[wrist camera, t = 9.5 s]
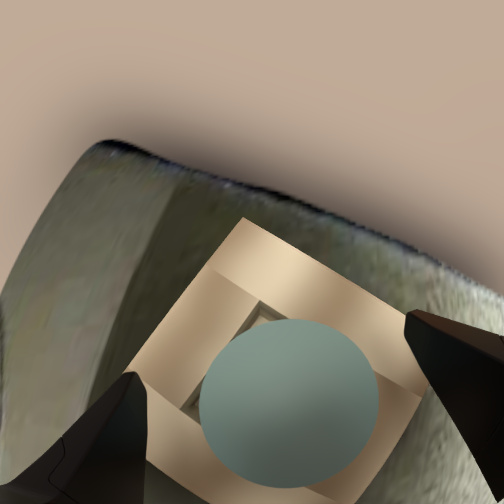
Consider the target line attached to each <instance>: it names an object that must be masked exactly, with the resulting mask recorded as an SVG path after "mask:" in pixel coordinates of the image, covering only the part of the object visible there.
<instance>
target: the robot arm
mask: <svg viewBox="0 0 504 504" xmlns="http://www.w3.org/2000/svg"><path fill="white" fill-rule="evenodd" d="M404 337H405V340H406V342H407V343H408V345H409V347H410V349H411V351H412V353H413V355H414V357H415V359H416V361H417V363H418V365H419V367H420V369H421V370H422V372H423V374H424V375H425V377H426V378H427V380H428V382H429V383H430V385H431V386H432V388H433V389H434V391H435V392H436V394H437V396H438V397H439V399H440V400H441V402H442V404H443V405H444V407H445V409H446V410H447V412H448V413H449V415H450V417H451V418H452V420H453V422H454V423H455V425H456V427H457V429H458V430H459V432H460V434H461V435H462V437H463V439H464V441H465V442H466V444H467V446H468V448H469V450H470V451H471V453H472V455H473V457H474V458H475V461H476V463H477V464H478V466H479V468H480V470H481V472H482V474H483V476H484V478H485V480H486V482H487V484H488V486H489V487H490V489H491V491H492V494H493V496H494V498H495V500H496V501H497V503H498V502H500V501H501V500H502V499H503V498H504V336H501V335H500V336H499V335H498V334H495V333H492V332H488V331H485V330H482V329H479V328H476V327H472V326H469V325H466V324H463V323H460V322H456V321H453V320H450V319H447V318H444V317H440V316H437V315H434V314H431V313H428V312H425V311H421V310H418V309H416V310H413V311H410V312H408V313H407V314H406V317H405V325H404ZM147 438H148V418H147V391H146V388H145V386H144V384H143V382H142V380H141V379H140V377H139V375H138V373H137V372H135V371H131V372H124V373H123V374H122V375H121V376H120V377H119V378H118V379H117V380H116V381H115V382H114V383H113V384H112V385H111V386H110V387H109V388H108V389H107V390H106V391H105V392H104V393H103V394H102V395H101V396H100V397H99V398H98V399H97V401H96V402H95V403H94V404H93V405H92V406H91V407H90V408H89V409H88V410H87V411H86V412H85V413H84V414H83V415H82V416H81V417H80V418H79V419H78V420H77V421H76V422H75V423H74V424H73V425H72V426H71V427H70V428H69V429H68V430H67V431H66V432H65V433H64V434H63V435H62V437H60V438H59V439H58V440H57V441H56V442H55V443H54V444H53V445H52V446H51V447H50V448H49V449H48V450H47V451H46V452H45V453H44V454H43V455H42V456H41V457H40V458H38V459H37V460H36V461H35V462H34V463H33V464H31V465H30V466H29V467H28V468H27V469H26V470H24V471H23V472H22V473H21V474H20V475H18V476H17V477H16V478H15V479H13V480H12V481H11V482H9V483H7V484H4V485H0V504H143V498H144V478H145V463H146V450H147Z"/></svg>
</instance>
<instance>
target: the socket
mask: <svg viewBox="0 0 504 504" xmlns="http://www.w3.org/2000/svg"><path fill="white" fill-rule="evenodd" d="M405 317H406V316H405V315H403V314H402V313H400V312H399V311H397V310H396V309H394V308H392V307H391V306H389V305H388V304H386V303H384V302H383V301H381V300H380V299H378V298H376V297H375V296H373V295H372V294H370V293H368V292H367V291H365V290H364V289H362V288H360V287H359V286H357V285H355V284H354V283H352V282H351V281H349V280H347V279H346V278H344V277H342V276H341V275H339V274H338V273H336V272H334V271H333V270H331V269H329V268H328V267H326V266H324V265H323V264H321V263H319V262H318V261H316V260H314V259H313V258H311V257H309V256H308V255H306V254H304V253H303V252H301V251H299V250H298V249H296V248H294V247H293V246H291V245H289V244H288V243H286V242H284V241H283V240H281V239H279V238H277V237H276V236H274V235H272V234H271V233H269V232H267V231H266V230H264V229H262V228H260V227H259V226H257V225H255V224H254V223H252V222H250V221H248V220H247V219H245V218H242V219H241V220H240V222H239V223H238V224H237V225H236V227H235V228H234V229H233V230H232V232H231V233H230V234H229V235H228V237H227V238H226V239H225V240H224V242H223V243H222V244H221V245H220V247H219V248H218V249H217V250H216V252H215V253H214V254H213V255H212V257H211V258H210V259H209V261H208V262H207V263H206V264H205V266H204V267H203V268H202V269H201V271H200V272H199V273H198V275H197V276H196V277H195V278H194V280H193V281H192V282H191V284H190V285H189V286H188V287H187V289H186V290H185V291H184V293H183V294H182V295H181V297H180V298H179V299H178V300H177V302H176V303H175V304H174V306H173V307H172V308H171V310H170V311H169V312H168V313H167V315H166V316H165V317H164V319H163V320H162V321H161V323H160V324H159V325H158V327H157V328H156V329H155V331H154V332H153V333H152V335H151V336H150V337H149V339H148V340H147V341H146V343H145V344H144V345H143V347H142V348H141V349H140V351H139V352H138V353H137V355H136V356H135V357H134V359H133V360H132V362H131V363H130V364H129V366H128V367H127V368H126V370H125V371H124V372H131V371H135V372H137V373H138V375H139V377H140V379H141V380H142V382H143V384H144V386H145V388H146V391H147V418H148V438H147V450H146V459H147V460H148V461H149V462H151V463H152V464H153V465H154V466H156V467H157V468H158V469H160V470H161V471H162V472H164V473H165V474H166V475H168V476H169V477H170V478H172V479H173V480H175V481H176V482H178V483H179V484H180V485H182V486H183V487H185V488H186V489H188V490H189V491H191V492H192V493H194V494H195V495H197V496H199V497H200V498H202V499H203V500H205V501H207V502H208V503H210V504H354V503H355V502H356V501H357V500H358V498H359V497H360V496H361V495H362V493H363V492H364V491H365V489H366V488H367V487H368V485H369V484H370V483H371V481H372V480H373V479H374V477H375V476H376V474H377V473H378V471H379V470H380V469H381V467H382V466H383V464H384V463H385V461H386V460H387V458H388V457H389V455H390V454H391V452H392V450H393V449H394V447H395V446H396V444H397V442H398V441H399V439H400V437H401V436H402V434H403V432H404V431H405V429H406V427H407V425H408V424H409V422H410V420H411V418H412V416H413V415H414V413H415V411H416V409H417V407H418V405H419V403H420V401H421V399H422V397H423V395H424V393H425V391H426V389H427V387H428V385H429V382H428V380H427V378H426V377H425V375H424V374H423V372H422V370H421V369H420V367H419V365H418V363H417V361H416V359H415V357H414V355H413V353H412V351H411V349H410V347H409V345H408V343H407V342H406V340H405V337H404V325H405ZM284 319H302V320H309V321H314V322H318V323H321V324H324V325H327V326H329V327H331V328H333V329H336V330H337V331H339V332H341V333H342V334H344V335H345V336H347V337H348V338H349V339H350V340H351V341H353V342H354V343H355V344H356V345H357V346H358V347H359V349H360V350H361V351H362V352H363V354H364V355H365V356H366V358H367V359H368V361H369V363H370V365H371V367H372V369H373V372H374V375H375V377H376V381H377V386H378V393H379V407H378V415H377V420H376V424H375V426H374V429H373V432H372V434H371V436H370V438H369V440H368V442H367V444H366V445H365V447H364V448H363V450H362V451H361V452H360V454H359V455H358V456H357V457H356V458H355V459H354V460H353V461H352V462H351V463H350V464H349V465H348V466H347V467H345V468H344V469H343V470H341V471H340V472H338V473H337V474H335V475H334V476H332V477H330V478H328V479H326V480H324V481H321V482H318V483H316V484H313V485H309V486H304V487H298V488H273V487H267V486H263V485H259V484H256V483H253V482H250V481H248V480H246V479H244V478H242V477H240V476H239V475H237V474H235V473H234V472H232V471H231V470H230V469H229V468H227V467H226V466H225V465H224V464H223V463H222V462H221V461H220V460H219V459H218V458H217V457H216V455H215V454H214V452H213V451H212V449H211V448H210V446H209V444H208V442H207V440H206V438H205V436H204V433H203V430H202V427H201V422H200V416H199V399H200V392H201V388H202V384H203V381H204V378H205V376H206V373H207V371H208V369H209V367H210V366H211V364H212V362H213V361H214V359H215V358H216V357H217V355H218V354H219V353H220V351H221V350H222V349H223V348H224V347H225V346H226V345H227V344H228V343H230V342H231V341H232V340H233V339H235V338H236V337H237V336H239V335H240V334H242V333H244V332H245V331H247V330H249V329H251V328H253V327H256V326H258V325H261V324H264V323H267V322H271V321H276V320H284ZM124 372H123V373H124Z"/></svg>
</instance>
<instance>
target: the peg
mask: <svg viewBox="0 0 504 504" xmlns="http://www.w3.org/2000/svg"><path fill="white" fill-rule="evenodd" d="M378 407H379V393H378V386H377V381H376V377H375V375H374V372H373V369H372V367H371V365H370V363H369V361H368V359H367V358H366V356H365V355H364V354H363V352H362V351H361V350H360V349H359V347H358V346H357V345H356V344H355V343H354V342H353V341H351V340H350V339H349V338H348V337H347V336H345V335H344V334H342V333H341V332H339V331H337V330H336V329H333V328H331V327H329V326H327V325H324V324H321V323H318V322H314V321H309V320H302V319H284V320H276V321H271V322H267V323H264V324H261V325H258V326H256V327H253V328H251V329H249V330H247V331H245V332H244V333H242V334H240V335H239V336H237V337H236V338H235V339H233V340H232V341H231V342H230V343H228V344H227V345H226V346H225V347H224V348H223V349H222V350H221V351H220V353H219V354H218V355H217V357H216V358H215V359H214V361H213V362H212V364H211V366H210V367H209V369H208V371H207V373H206V376H205V378H204V381H203V384H202V388H201V392H200V399H199V416H200V422H201V427H202V430H203V433H204V436H205V438H206V440H207V442H208V444H209V446H210V448H211V449H212V451H213V452H214V454H215V455H216V457H217V458H218V459H219V460H220V461H221V462H222V463H223V464H224V465H225V466H226V467H227V468H229V469H230V470H231V471H232V472H234V473H235V474H237V475H239V476H240V477H242V478H244V479H246V480H248V481H250V482H253V483H256V484H259V485H263V486H267V487H273V488H298V487H304V486H309V485H313V484H316V483H318V482H321V481H324V480H326V479H328V478H330V477H332V476H334V475H335V474H337V473H338V472H340V471H341V470H343V469H344V468H345V467H347V466H348V465H349V464H350V463H351V462H352V461H353V460H354V459H355V458H356V457H357V456H358V455H359V454H360V452H361V451H362V450H363V448H364V447H365V445H366V444H367V442H368V440H369V438H370V436H371V434H372V432H373V429H374V426H375V424H376V420H377V415H378Z"/></svg>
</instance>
